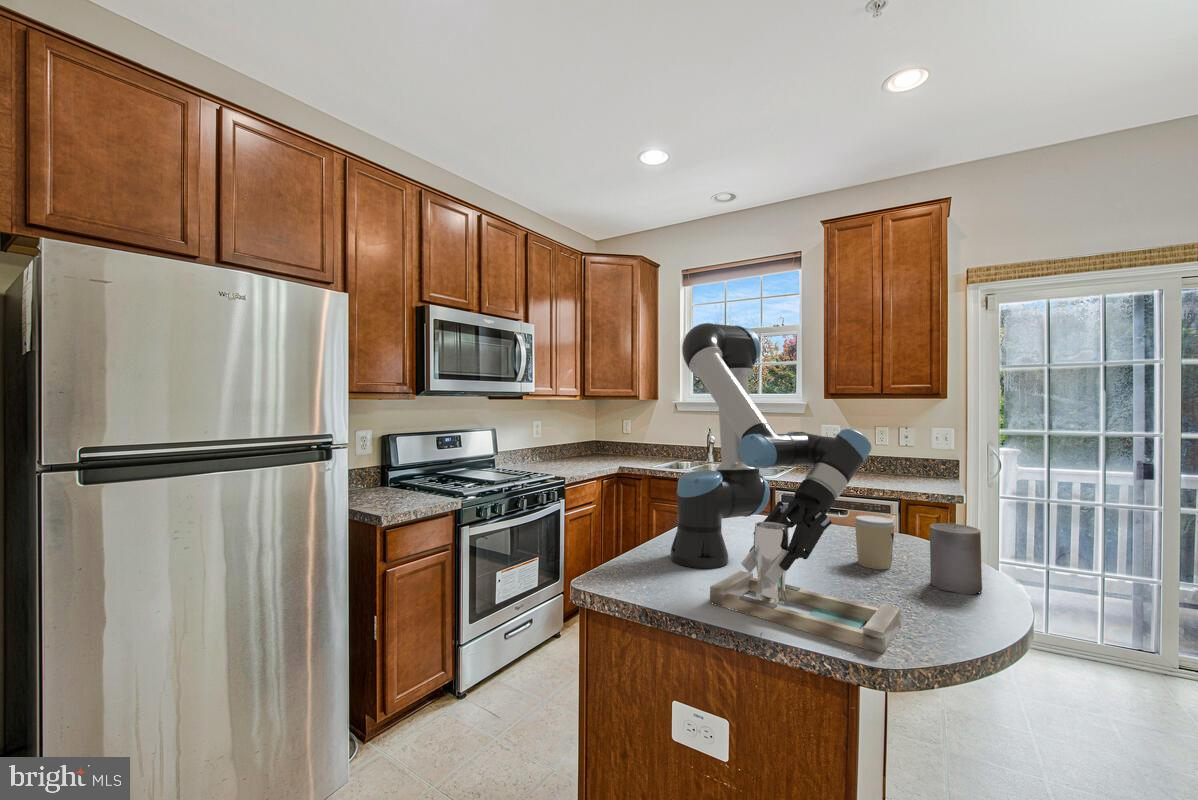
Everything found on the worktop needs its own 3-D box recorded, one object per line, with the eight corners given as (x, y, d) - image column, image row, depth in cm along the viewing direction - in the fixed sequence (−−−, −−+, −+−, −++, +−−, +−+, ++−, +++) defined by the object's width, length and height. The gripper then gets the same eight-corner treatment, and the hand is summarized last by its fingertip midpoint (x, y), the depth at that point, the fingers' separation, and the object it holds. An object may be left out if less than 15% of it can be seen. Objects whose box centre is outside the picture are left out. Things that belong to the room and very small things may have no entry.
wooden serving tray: (709, 603, 105) (709, 586, 105) (740, 585, 115) (740, 570, 115) (882, 654, 83) (882, 632, 84) (900, 626, 94) (900, 607, 94)
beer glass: (752, 602, 101) (752, 527, 102) (754, 590, 108) (755, 520, 108) (789, 607, 99) (789, 531, 99) (789, 595, 105) (789, 523, 105)
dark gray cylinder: (960, 580, 121) (959, 517, 121) (993, 595, 111) (991, 526, 111) (920, 580, 120) (919, 517, 121) (949, 595, 111) (948, 527, 111)
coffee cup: (902, 570, 127) (902, 523, 127) (865, 570, 127) (865, 522, 128) (882, 559, 137) (882, 515, 137) (847, 559, 137) (848, 514, 137)
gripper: (868, 510, 100) (803, 603, 94) (795, 493, 118) (737, 570, 112) (848, 485, 98) (781, 578, 92) (778, 471, 116) (718, 548, 110)
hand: (757, 573), depth 102 cm, fingers closed on beer glass, 6 cm apart
